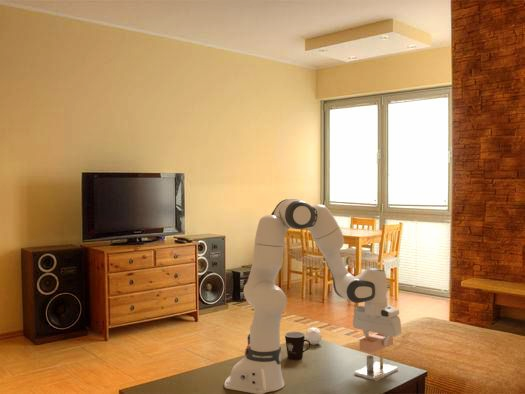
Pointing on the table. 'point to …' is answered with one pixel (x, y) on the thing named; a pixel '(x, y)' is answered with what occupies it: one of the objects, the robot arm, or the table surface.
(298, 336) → the coffee mug
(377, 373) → the post plate
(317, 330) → the geometric ball
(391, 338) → the link
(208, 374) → the table surface
